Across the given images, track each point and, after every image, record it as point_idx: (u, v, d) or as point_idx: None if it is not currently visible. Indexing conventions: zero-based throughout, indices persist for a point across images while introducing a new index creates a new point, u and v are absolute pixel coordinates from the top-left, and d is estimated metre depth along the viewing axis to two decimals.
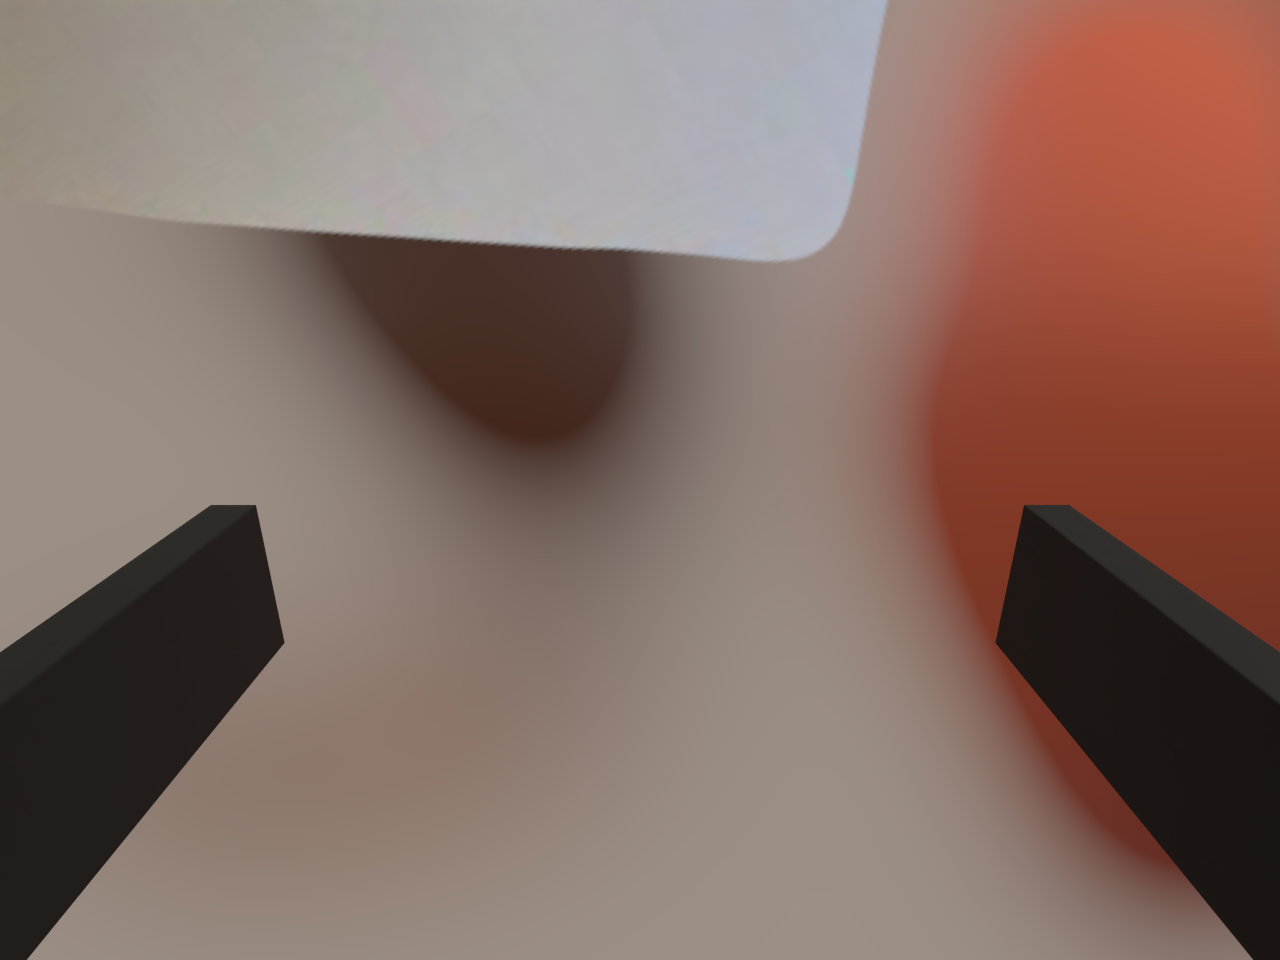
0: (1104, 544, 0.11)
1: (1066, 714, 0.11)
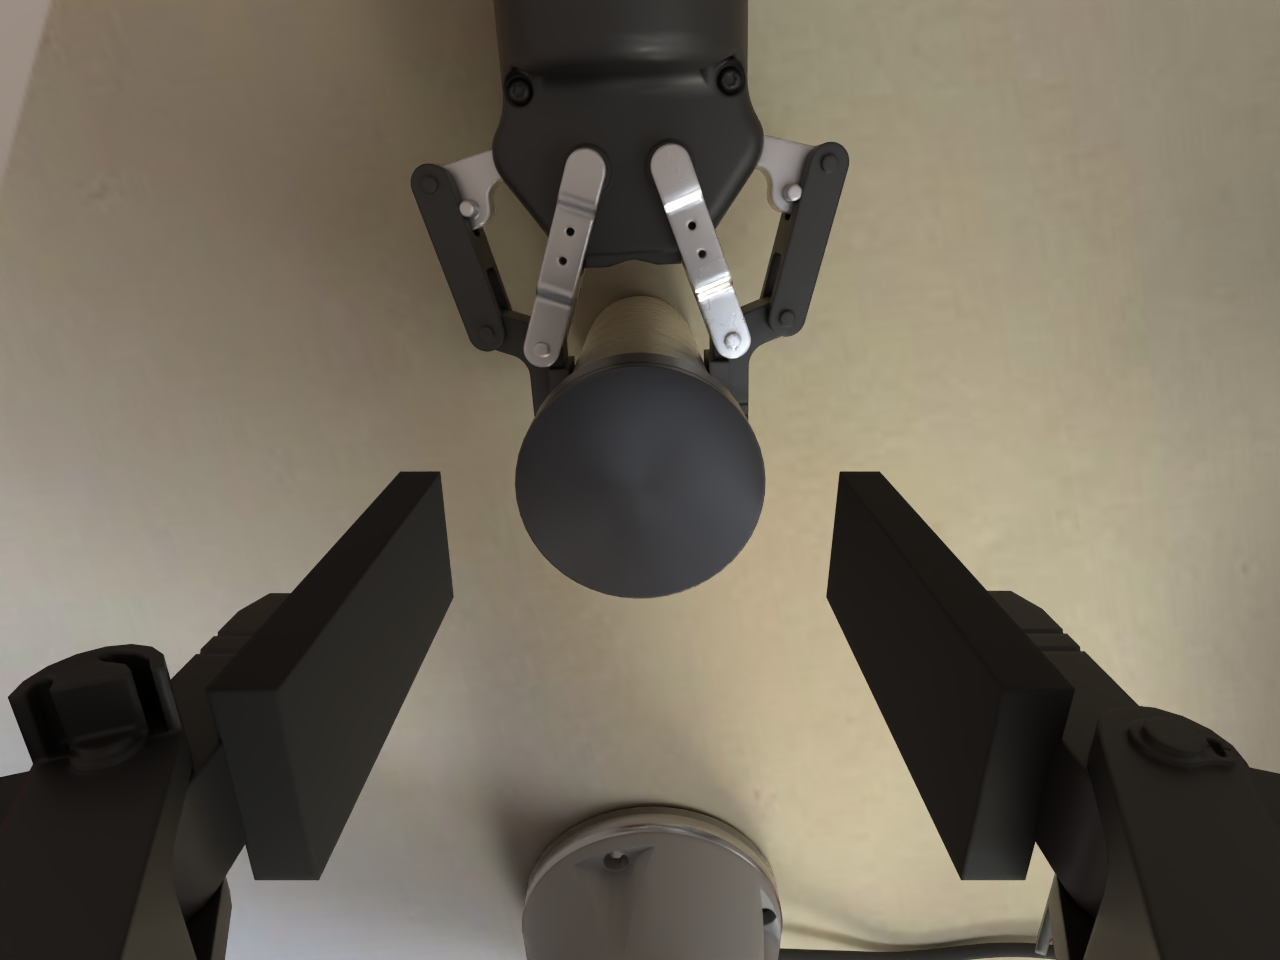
0: (889, 502, 0.12)
1: (859, 652, 0.12)
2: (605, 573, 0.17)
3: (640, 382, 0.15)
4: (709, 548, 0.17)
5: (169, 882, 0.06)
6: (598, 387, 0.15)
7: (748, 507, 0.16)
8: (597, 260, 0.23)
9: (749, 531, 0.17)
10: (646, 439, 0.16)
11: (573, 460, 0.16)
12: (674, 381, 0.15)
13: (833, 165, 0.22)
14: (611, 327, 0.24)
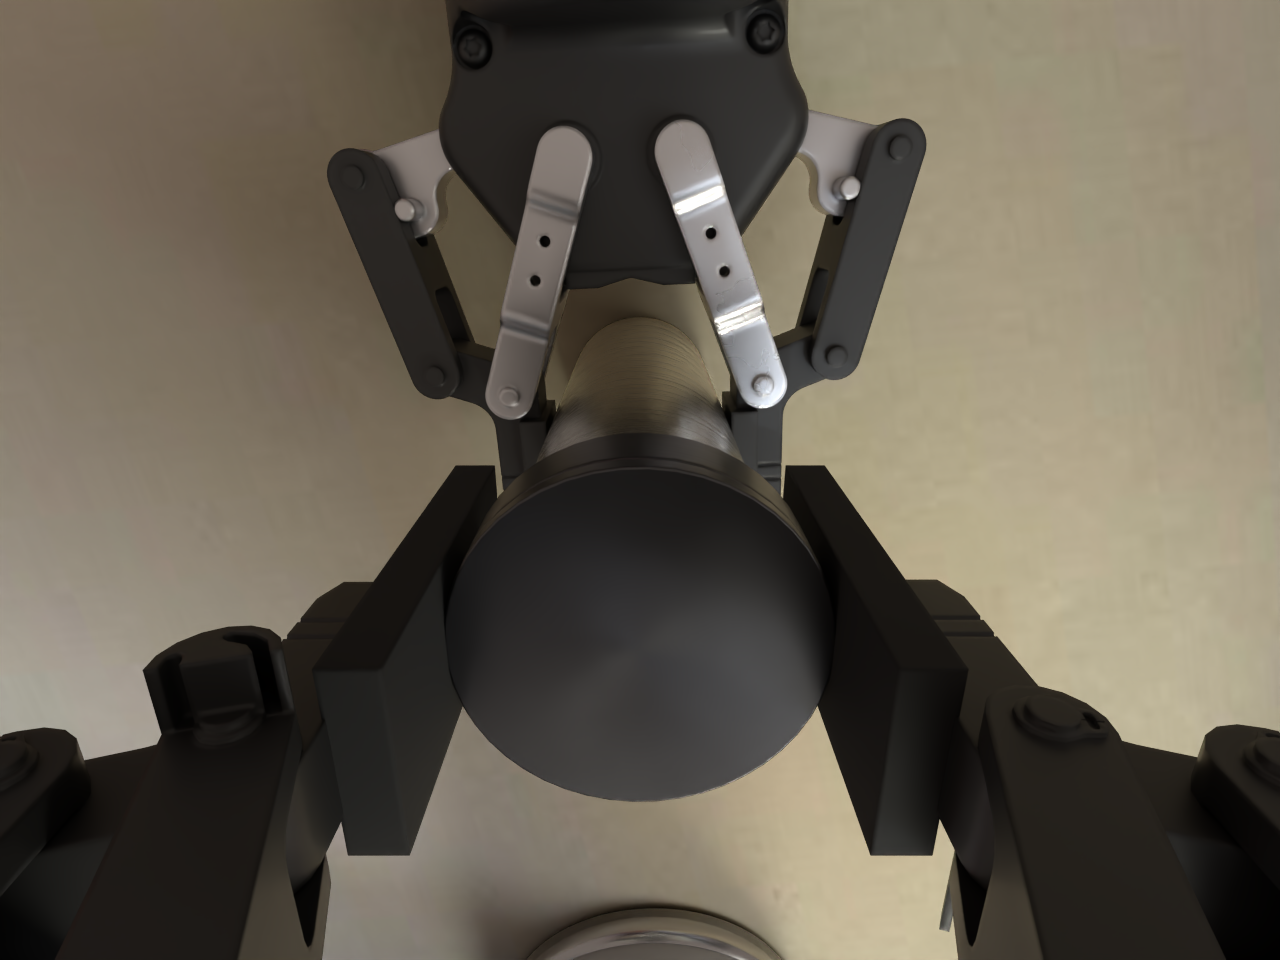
0: (827, 495, 0.12)
1: None
2: (586, 767, 0.11)
3: (640, 492, 0.10)
4: (746, 733, 0.11)
5: (283, 859, 0.06)
6: (572, 499, 0.10)
7: (808, 676, 0.11)
8: (583, 279, 0.17)
9: (809, 709, 0.11)
10: (650, 577, 0.10)
11: (534, 608, 0.10)
12: (695, 490, 0.09)
13: (905, 150, 0.16)
14: (602, 366, 0.18)
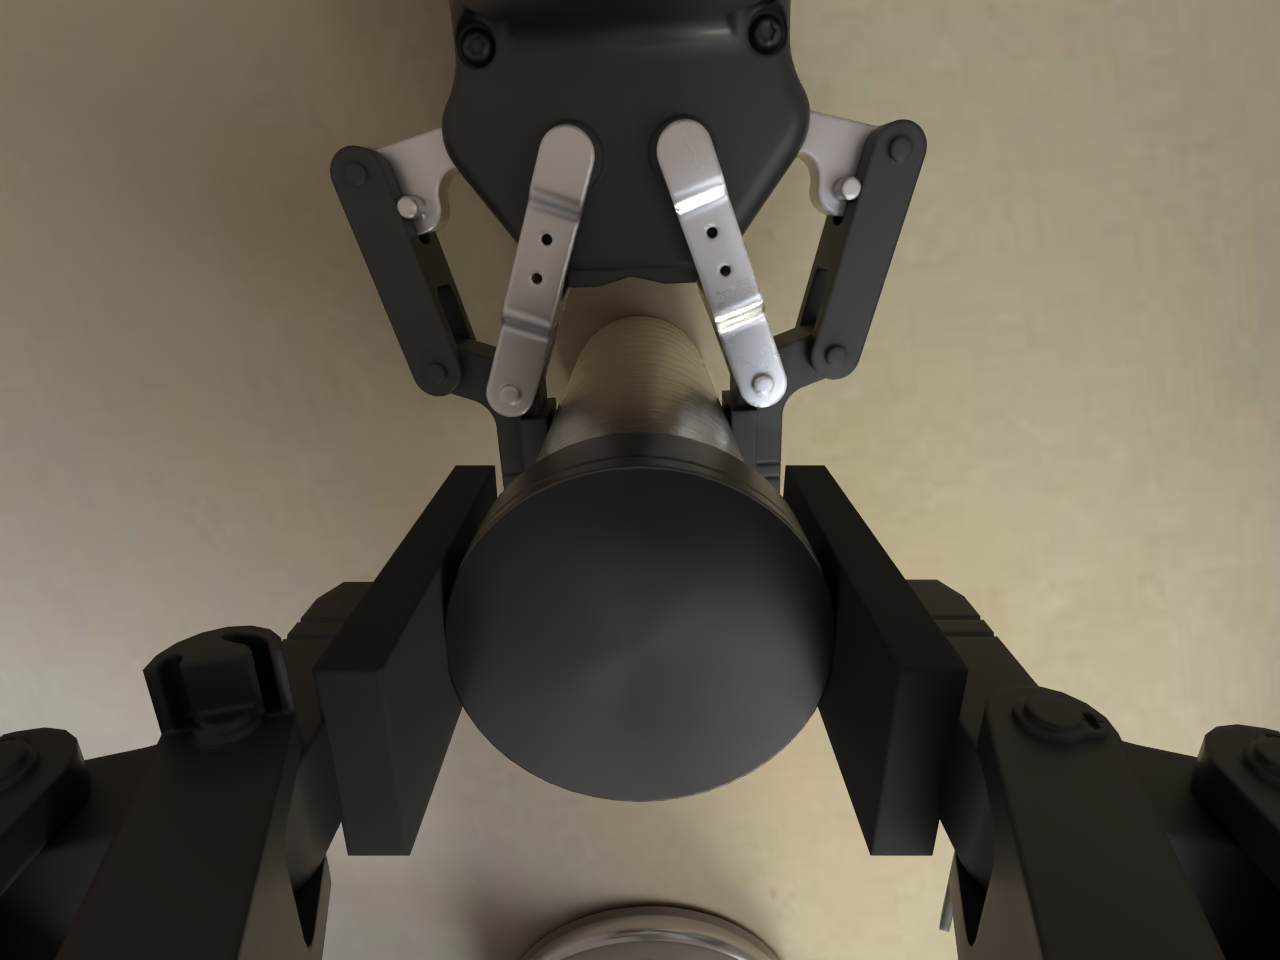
0: (828, 494, 0.12)
1: None
2: (786, 693, 0.11)
3: (469, 655, 0.10)
4: (744, 546, 0.10)
5: (282, 859, 0.06)
6: (483, 706, 0.11)
7: (666, 490, 0.09)
8: (585, 277, 0.17)
9: (712, 484, 0.09)
10: (556, 645, 0.10)
11: (597, 735, 0.11)
12: (460, 613, 0.10)
13: (905, 152, 0.16)
14: (603, 365, 0.18)
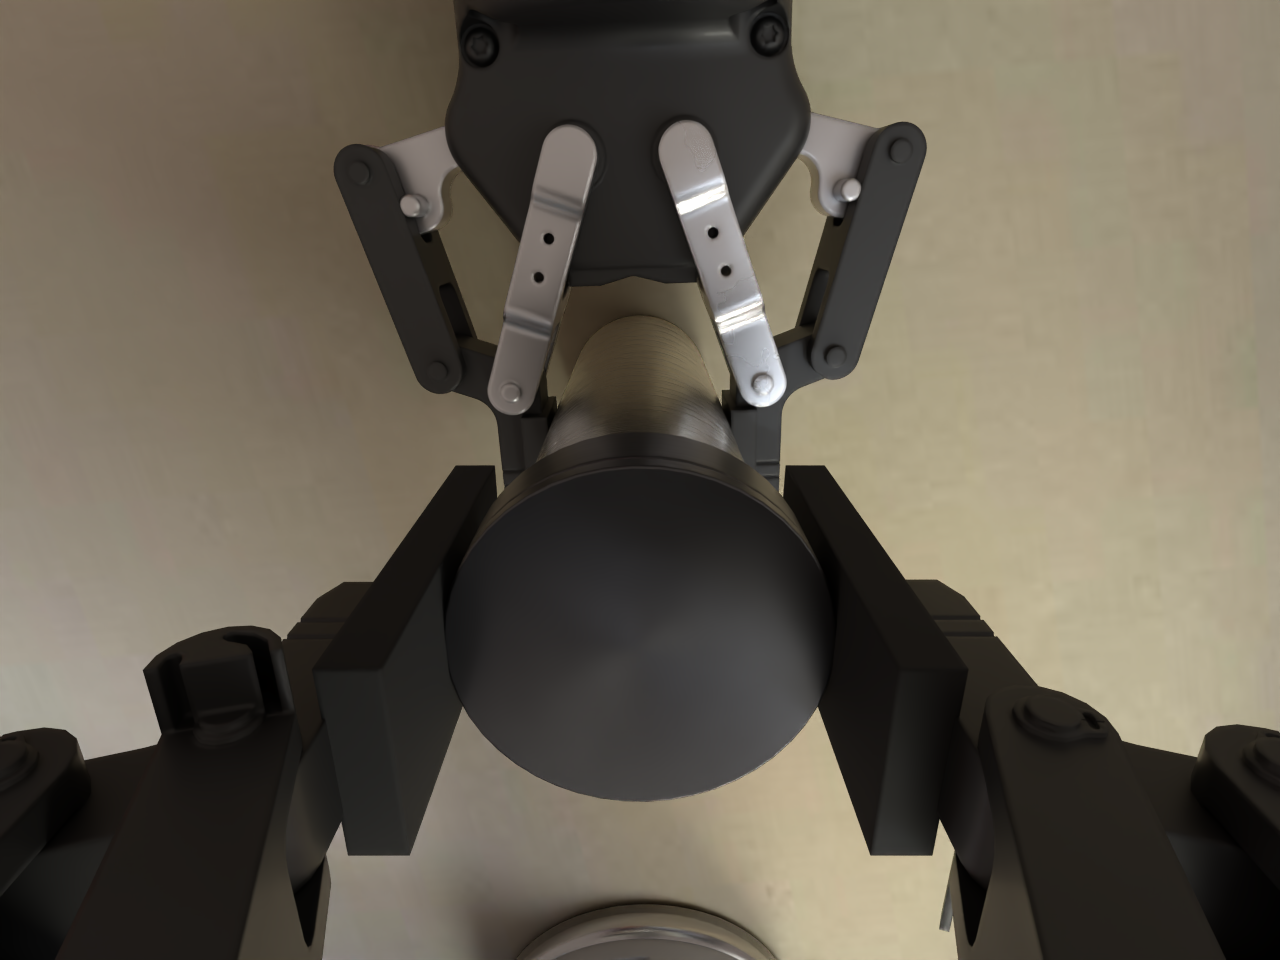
0: (827, 495, 0.12)
1: None
2: (690, 510, 0.10)
3: (651, 784, 0.11)
4: (514, 568, 0.10)
5: (283, 858, 0.06)
6: (708, 776, 0.11)
7: (465, 636, 0.10)
8: (586, 277, 0.17)
9: (454, 598, 0.10)
10: (636, 718, 0.11)
11: (744, 684, 0.11)
12: (605, 789, 0.11)
13: (906, 154, 0.16)
14: (603, 363, 0.18)
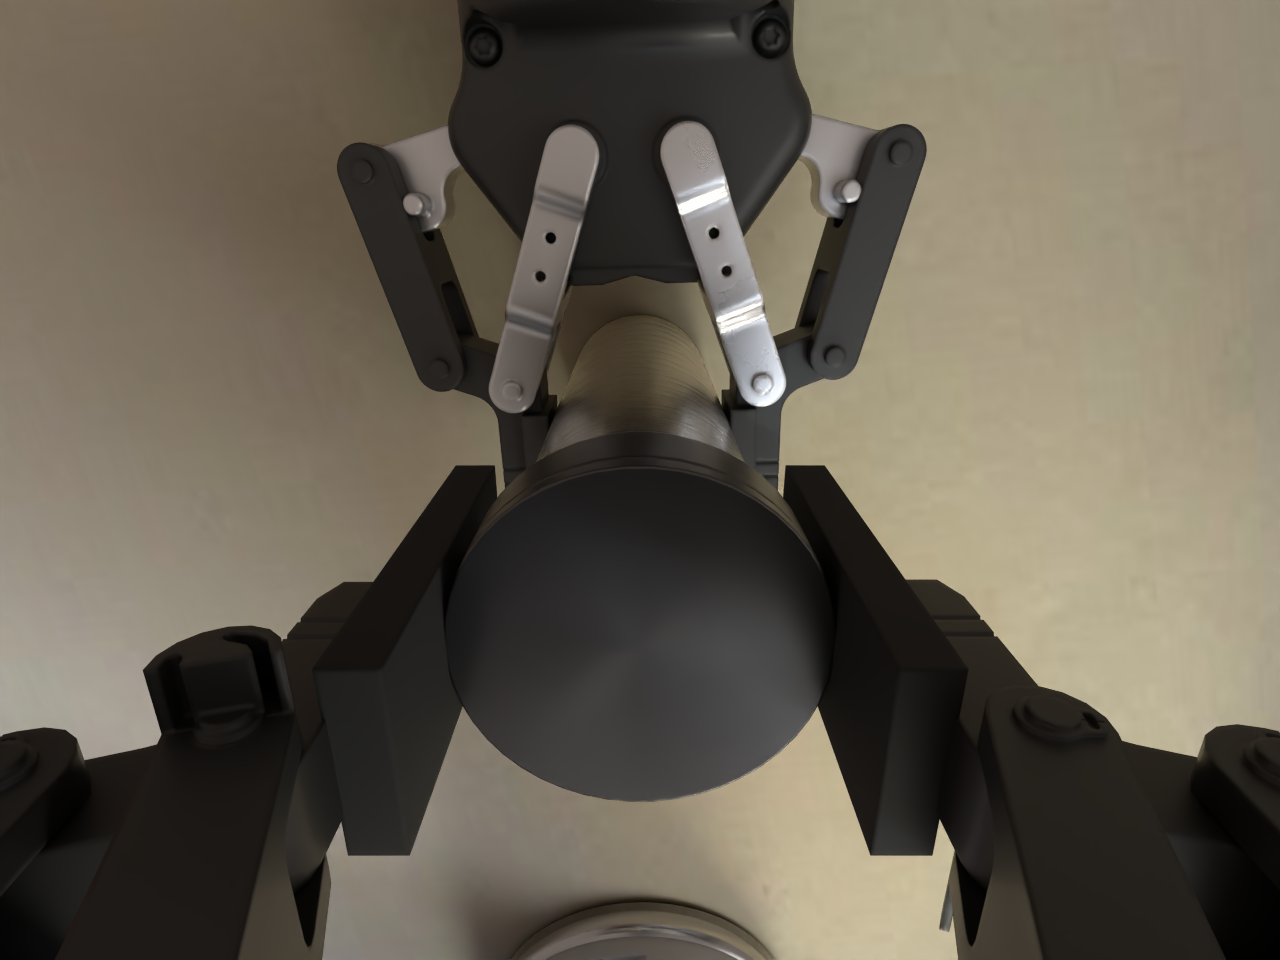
0: (827, 495, 0.12)
1: None
2: (483, 615, 0.10)
3: (812, 634, 0.10)
4: (556, 749, 0.11)
5: (283, 859, 0.06)
6: (802, 580, 0.10)
7: (630, 786, 0.11)
8: (587, 276, 0.18)
9: (592, 792, 0.11)
10: (723, 650, 0.10)
11: (679, 553, 0.10)
12: (815, 677, 0.10)
13: (905, 156, 0.16)
14: (604, 362, 0.19)
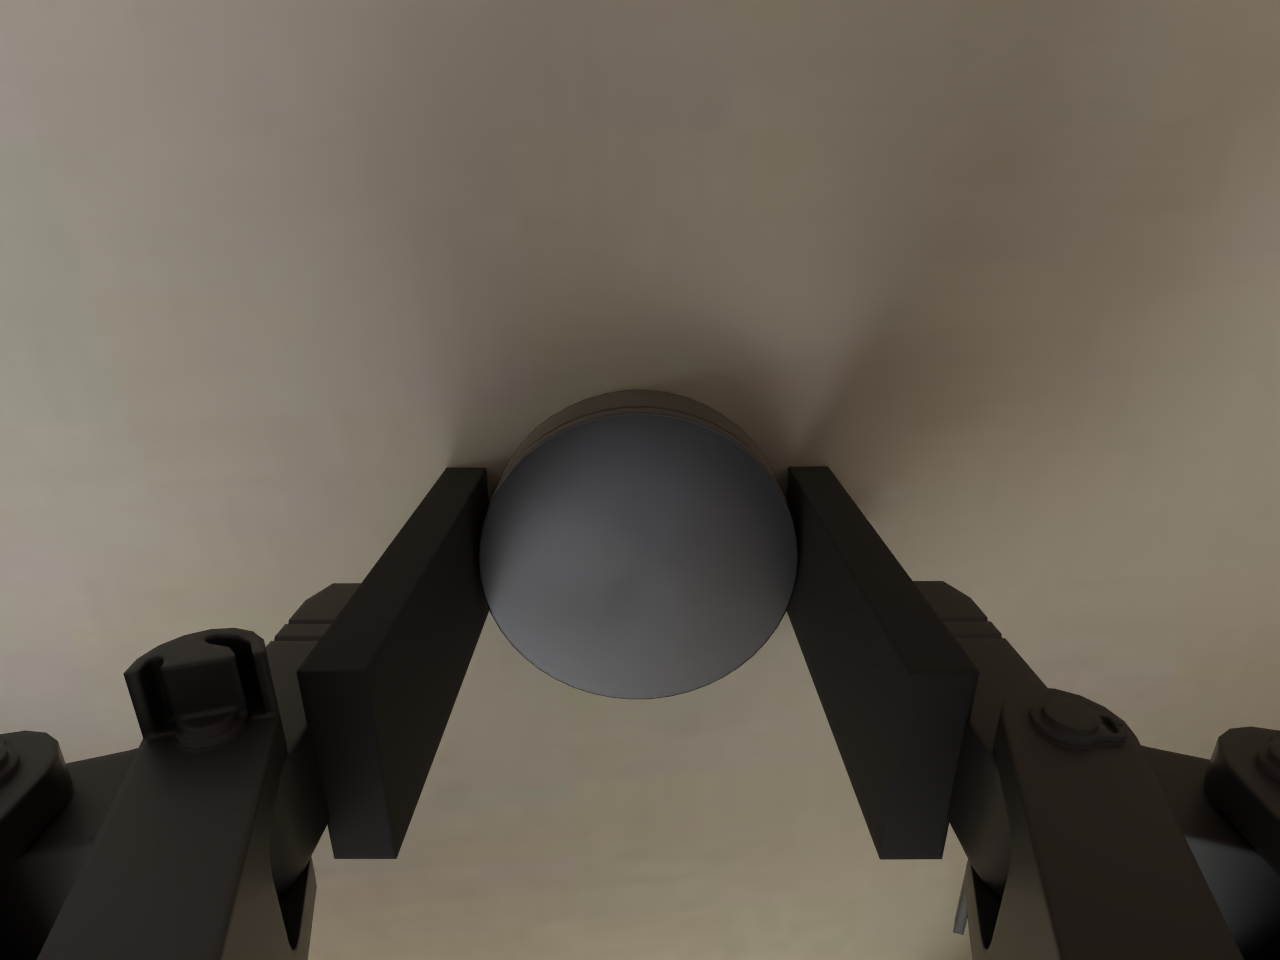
0: (831, 495, 0.12)
1: (803, 642, 0.13)
2: (510, 538, 0.12)
3: (778, 553, 0.13)
4: (569, 653, 0.13)
5: (266, 862, 0.06)
6: (770, 507, 0.12)
7: (630, 686, 0.14)
8: None
9: (598, 691, 0.14)
10: (706, 567, 0.13)
11: (670, 485, 0.12)
12: (782, 590, 0.13)
13: None
14: None
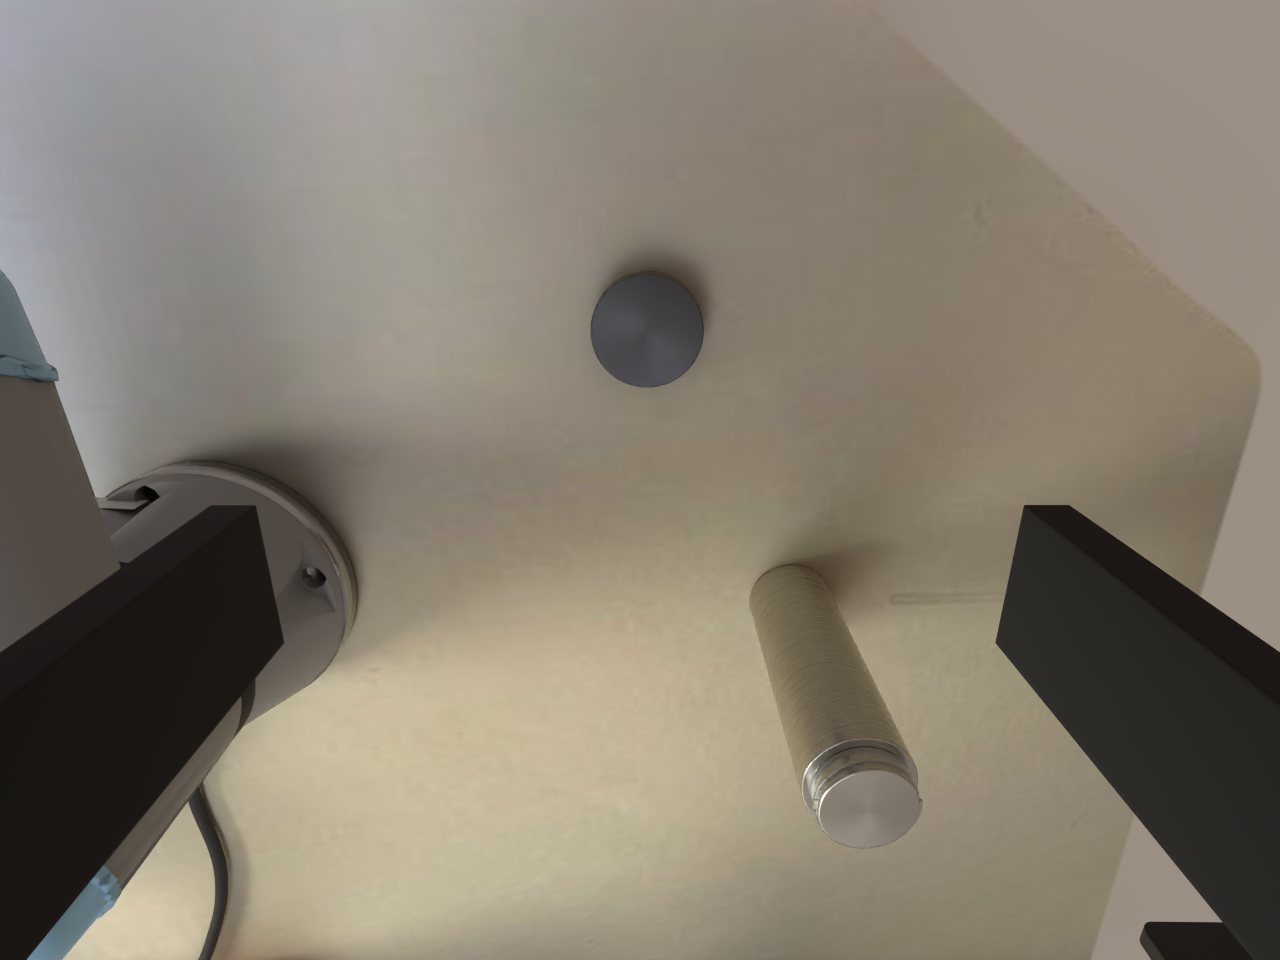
0: (1104, 544, 0.11)
1: (1066, 714, 0.11)
2: (602, 320, 0.36)
3: (696, 326, 0.36)
4: (621, 367, 0.37)
5: None
6: (692, 308, 0.36)
7: (643, 381, 0.37)
8: None
9: (632, 383, 0.37)
10: (670, 332, 0.36)
11: (657, 300, 0.36)
12: (697, 341, 0.36)
13: None
14: None
